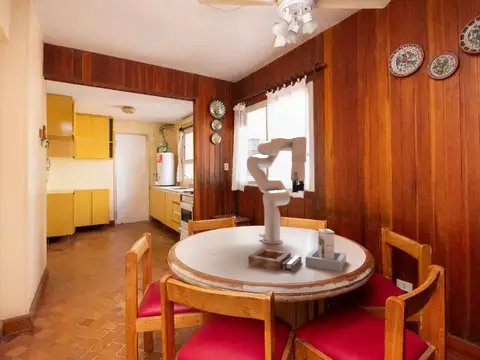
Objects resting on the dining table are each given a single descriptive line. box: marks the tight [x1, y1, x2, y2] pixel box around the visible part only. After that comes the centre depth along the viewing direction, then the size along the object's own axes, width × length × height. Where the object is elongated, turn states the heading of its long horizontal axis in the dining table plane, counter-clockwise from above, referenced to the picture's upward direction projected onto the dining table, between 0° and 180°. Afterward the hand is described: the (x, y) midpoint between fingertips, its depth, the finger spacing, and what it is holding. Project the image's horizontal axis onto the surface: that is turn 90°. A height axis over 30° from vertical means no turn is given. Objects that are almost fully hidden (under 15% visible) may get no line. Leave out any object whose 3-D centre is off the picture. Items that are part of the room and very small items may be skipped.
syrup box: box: [317, 228, 335, 260], centre depth 121 cm, size 6×6×14 cm
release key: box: [287, 254, 303, 270], centre depth 118 cm, size 3×13×3 cm, turn 149°
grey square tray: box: [305, 248, 347, 272], centre depth 120 cm, size 15×15×4 cm
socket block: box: [247, 248, 302, 273], centre depth 120 cm, size 21×15×4 cm
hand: (298, 191), depth 139 cm, fingers open, 9 cm apart
